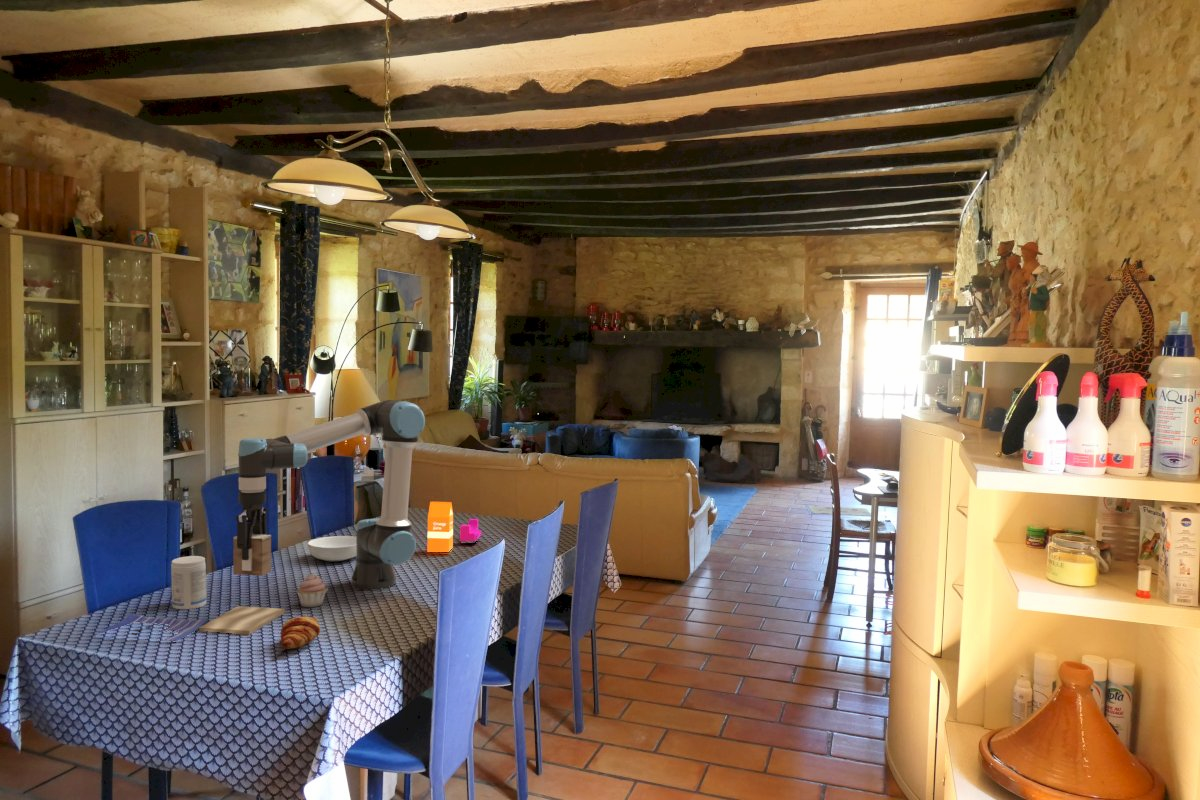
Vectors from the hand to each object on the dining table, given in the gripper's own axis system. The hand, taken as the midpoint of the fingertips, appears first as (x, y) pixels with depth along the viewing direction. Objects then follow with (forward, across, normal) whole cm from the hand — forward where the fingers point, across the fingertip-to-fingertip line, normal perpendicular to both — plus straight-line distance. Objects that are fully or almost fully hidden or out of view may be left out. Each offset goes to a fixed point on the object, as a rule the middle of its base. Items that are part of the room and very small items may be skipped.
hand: (252, 567), depth 243 cm
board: (+15, +5, 0) cm, 16 cm away
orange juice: (+15, -90, +30) cm, 96 cm away
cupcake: (+15, -14, +12) cm, 24 cm away
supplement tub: (+15, -6, -24) cm, 29 cm away
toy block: (+15, -113, +37) cm, 119 cm away
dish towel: (+16, +17, -20) cm, 30 cm away
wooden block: (+2, 0, 0) cm, 2 cm away
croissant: (+15, +18, +26) cm, 35 cm away
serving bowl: (+15, -70, -5) cm, 72 cm away
